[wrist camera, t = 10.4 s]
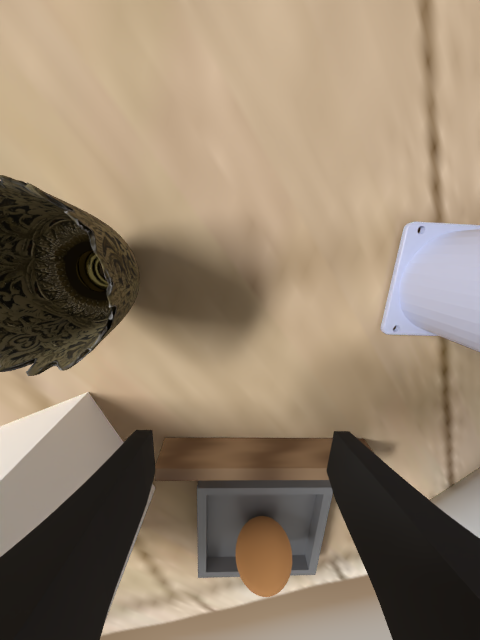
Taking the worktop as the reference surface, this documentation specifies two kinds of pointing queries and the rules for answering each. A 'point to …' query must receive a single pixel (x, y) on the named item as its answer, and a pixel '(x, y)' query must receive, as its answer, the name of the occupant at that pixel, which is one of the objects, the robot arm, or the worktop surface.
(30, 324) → the cup
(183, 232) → the worktop surface
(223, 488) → the tray
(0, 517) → the milk
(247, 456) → the fence
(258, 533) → the egg
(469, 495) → the tube
